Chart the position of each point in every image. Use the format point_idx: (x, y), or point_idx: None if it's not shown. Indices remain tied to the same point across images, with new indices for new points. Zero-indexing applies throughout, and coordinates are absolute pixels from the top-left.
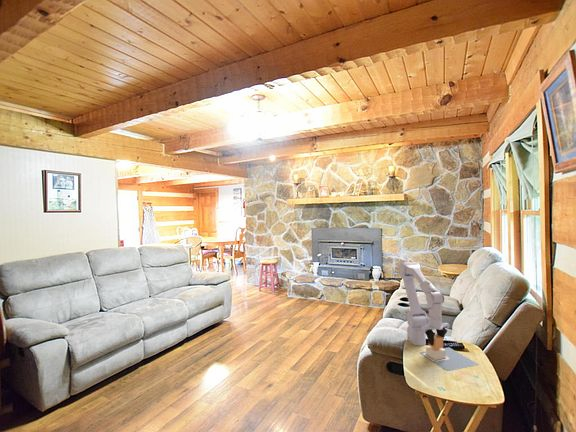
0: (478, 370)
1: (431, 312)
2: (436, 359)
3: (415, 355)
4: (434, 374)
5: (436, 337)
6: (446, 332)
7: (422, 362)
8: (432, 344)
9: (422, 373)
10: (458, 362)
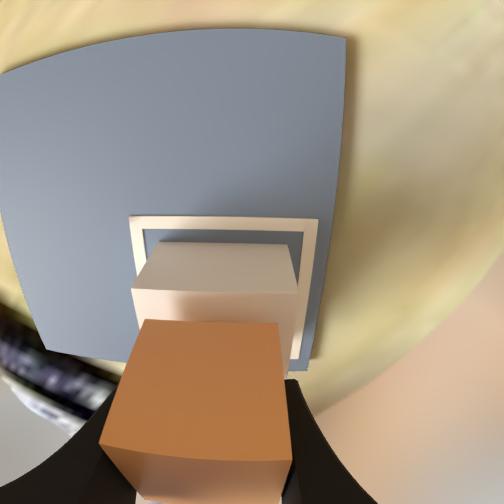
0: (41, 20)
1: None
2: (270, 245)
3: (345, 355)
4: (449, 83)
5: (217, 476)
6: (7, 488)
7: (390, 265)
8: (297, 389)
9: (501, 142)
10: (97, 135)
